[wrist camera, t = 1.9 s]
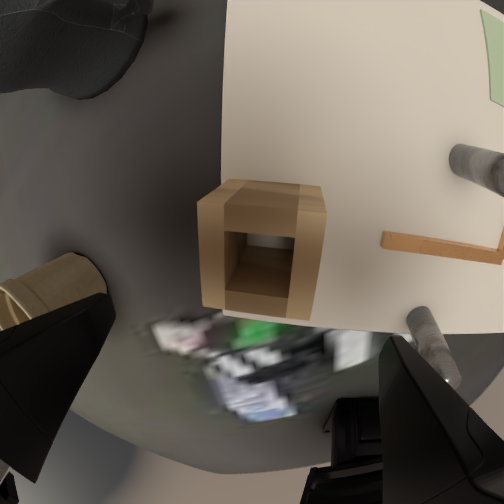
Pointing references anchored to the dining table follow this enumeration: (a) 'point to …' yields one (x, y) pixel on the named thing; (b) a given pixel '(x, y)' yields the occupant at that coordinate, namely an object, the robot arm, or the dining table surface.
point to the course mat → (374, 147)
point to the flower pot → (48, 288)
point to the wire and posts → (450, 254)
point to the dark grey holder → (69, 44)
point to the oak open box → (261, 247)
